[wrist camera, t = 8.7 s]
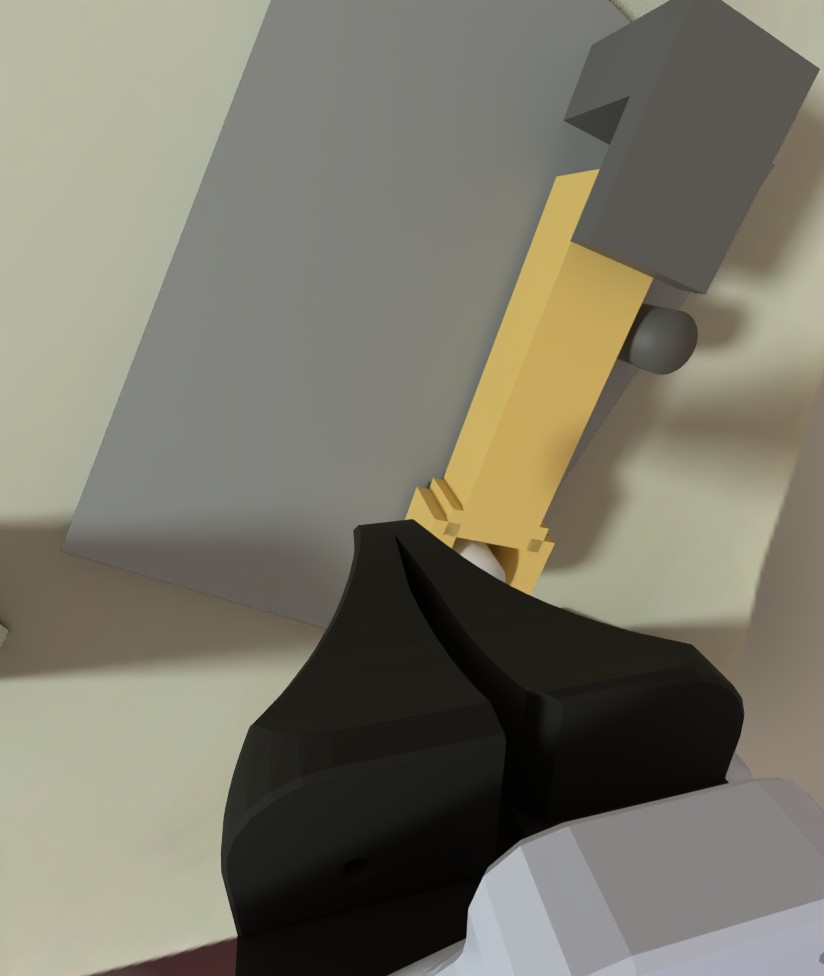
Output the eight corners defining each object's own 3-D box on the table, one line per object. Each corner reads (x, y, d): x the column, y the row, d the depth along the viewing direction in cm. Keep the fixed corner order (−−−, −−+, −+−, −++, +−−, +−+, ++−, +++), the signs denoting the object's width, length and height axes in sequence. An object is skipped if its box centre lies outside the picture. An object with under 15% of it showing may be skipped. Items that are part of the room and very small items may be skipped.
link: (487, 597, 24) (510, 637, 21) (382, 581, 22) (395, 622, 20) (653, 221, 18) (708, 220, 16) (531, 165, 17) (572, 155, 14)
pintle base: (752, 168, 20) (910, 148, 15) (435, 647, 26) (473, 746, 21) (358, -213, 14) (406, -465, 9) (69, 536, 20) (2, 638, 15)
